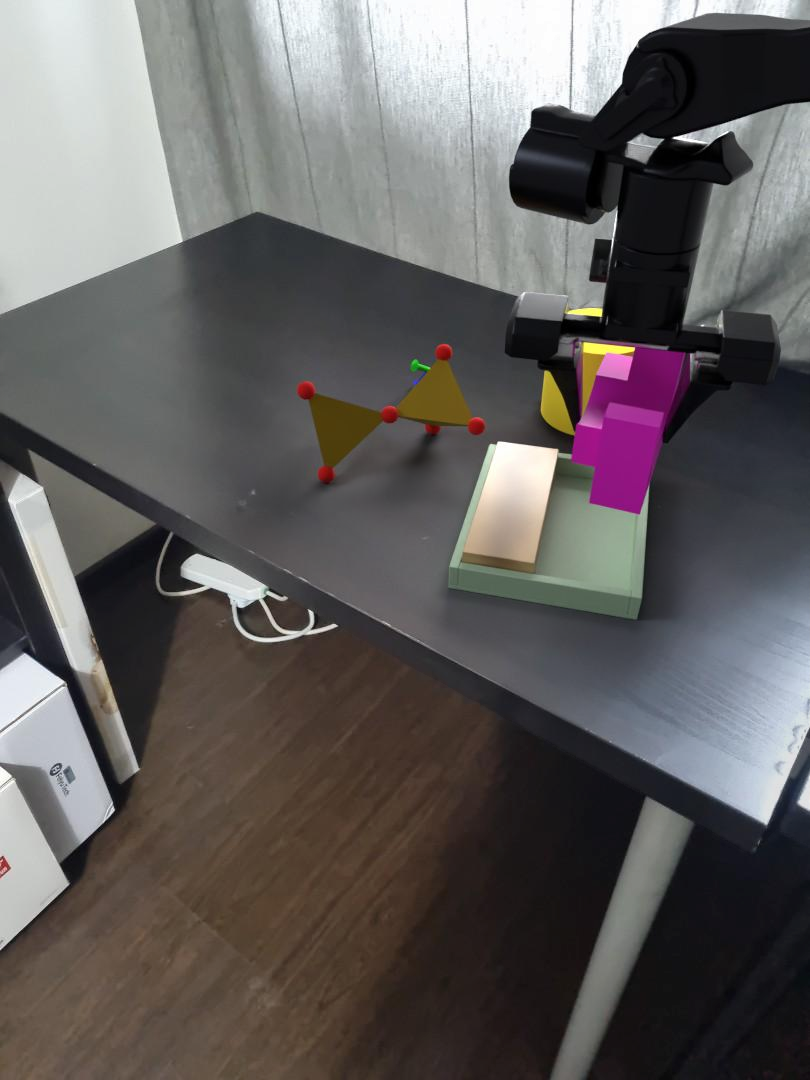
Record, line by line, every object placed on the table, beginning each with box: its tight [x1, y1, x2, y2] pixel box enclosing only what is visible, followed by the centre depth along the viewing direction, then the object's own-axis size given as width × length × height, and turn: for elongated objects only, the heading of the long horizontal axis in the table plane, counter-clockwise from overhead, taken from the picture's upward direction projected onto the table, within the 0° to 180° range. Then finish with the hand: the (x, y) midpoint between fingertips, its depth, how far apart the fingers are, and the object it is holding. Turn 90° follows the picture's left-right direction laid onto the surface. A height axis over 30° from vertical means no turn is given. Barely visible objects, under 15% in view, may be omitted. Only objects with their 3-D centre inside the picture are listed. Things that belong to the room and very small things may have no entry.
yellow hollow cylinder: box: [540, 307, 635, 437], centre depth 85 cm, size 10×10×9 cm
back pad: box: [462, 441, 560, 574], centre depth 73 cm, size 6×16×3 cm, turn 165°
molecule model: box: [296, 343, 486, 484], centre depth 82 cm, size 16×18×12 cm
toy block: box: [571, 348, 686, 515], centre depth 64 cm, size 15×6×8 cm, turn 158°
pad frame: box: [447, 443, 651, 621], centre depth 72 cm, size 15×18×2 cm
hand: (620, 434), depth 65 cm, fingers closed on toy block, 6 cm apart
